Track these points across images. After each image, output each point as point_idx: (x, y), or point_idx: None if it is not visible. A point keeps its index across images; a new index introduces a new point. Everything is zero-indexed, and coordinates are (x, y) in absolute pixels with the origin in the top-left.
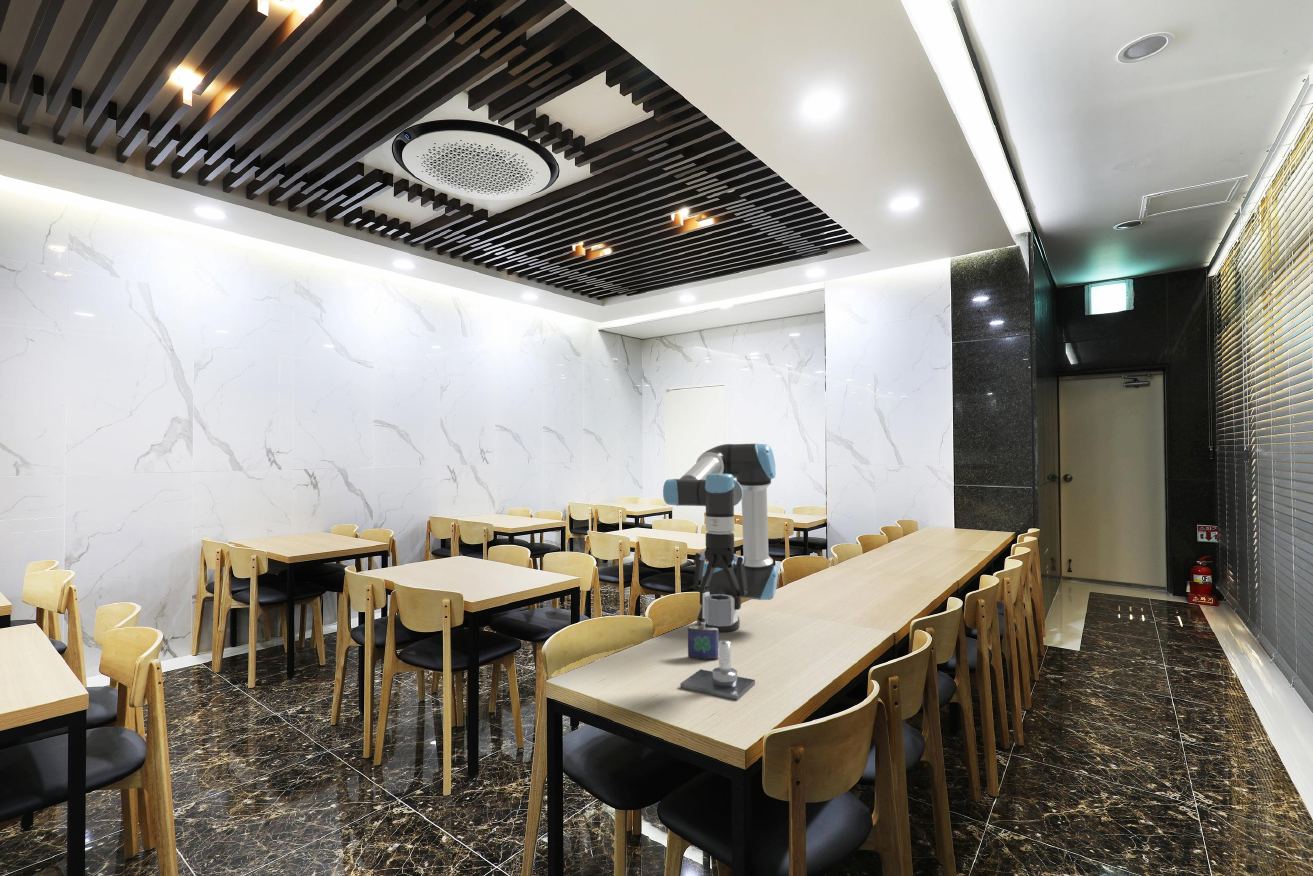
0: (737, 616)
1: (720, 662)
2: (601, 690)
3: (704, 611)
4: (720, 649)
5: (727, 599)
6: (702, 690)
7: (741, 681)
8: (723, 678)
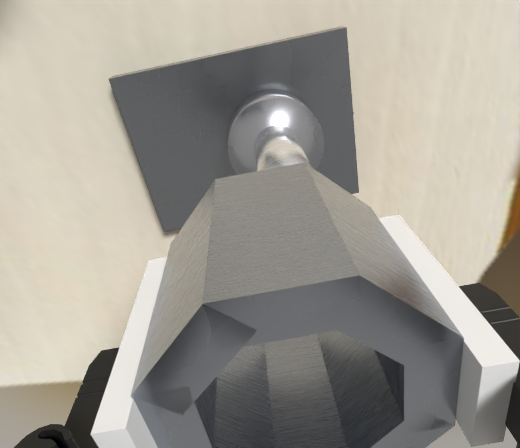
0: (411, 234)
1: None
2: (34, 356)
3: None
4: None
5: (416, 421)
6: None
7: (311, 80)
8: None
